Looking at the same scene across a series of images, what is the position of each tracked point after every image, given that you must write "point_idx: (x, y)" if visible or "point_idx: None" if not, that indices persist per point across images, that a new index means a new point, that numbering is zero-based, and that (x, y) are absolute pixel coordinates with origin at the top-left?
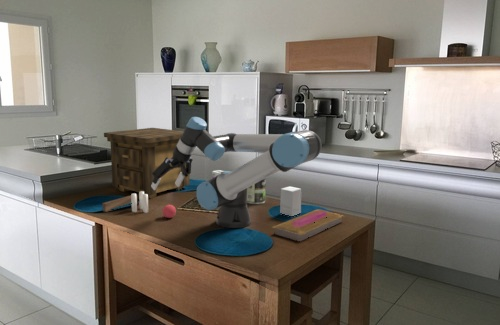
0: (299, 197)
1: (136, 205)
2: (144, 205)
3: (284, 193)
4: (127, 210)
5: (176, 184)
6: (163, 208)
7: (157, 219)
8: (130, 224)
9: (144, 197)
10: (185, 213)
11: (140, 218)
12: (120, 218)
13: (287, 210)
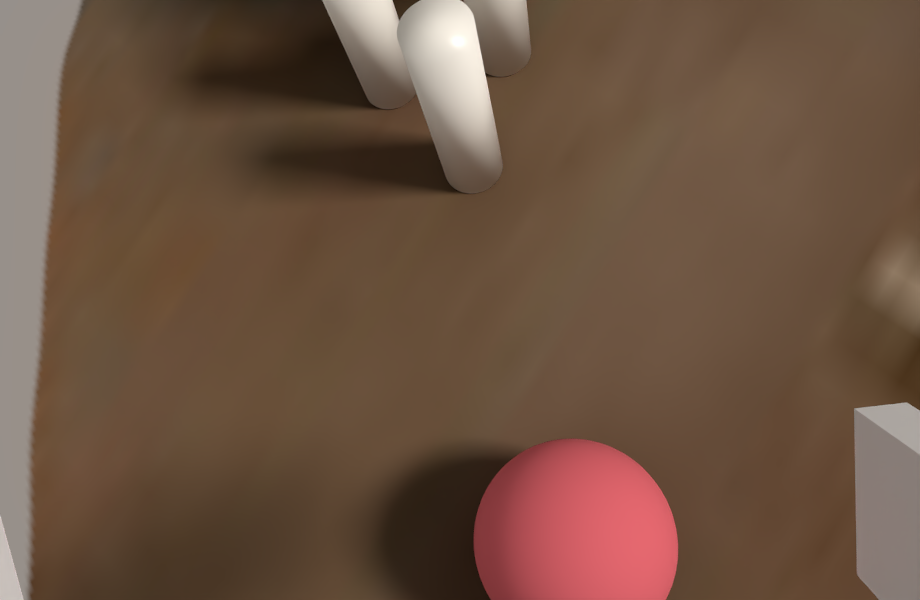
0: None
1: (388, 60)
2: (433, 138)
3: None
4: None
5: (865, 499)
6: (492, 495)
7: (418, 501)
8: (104, 453)
9: (413, 73)
10: None
11: (298, 337)
12: (159, 211)
13: None
